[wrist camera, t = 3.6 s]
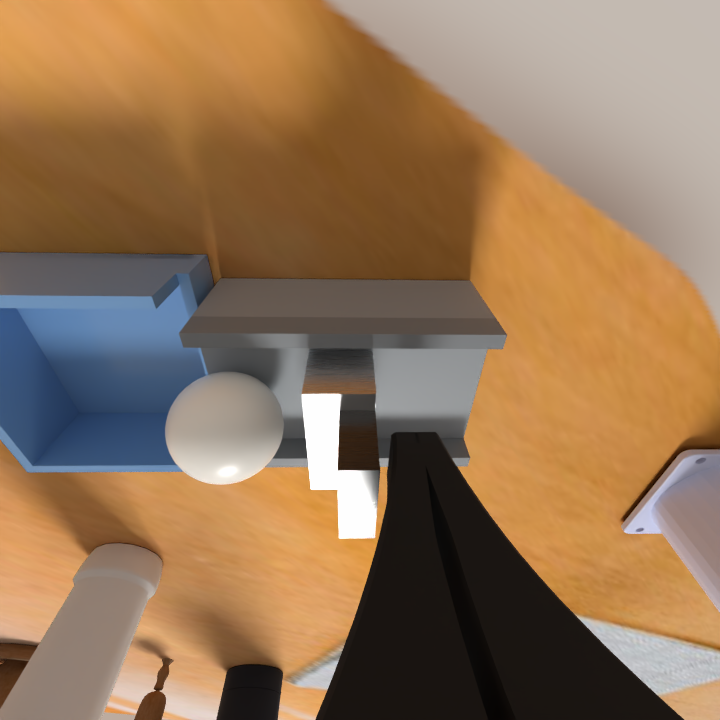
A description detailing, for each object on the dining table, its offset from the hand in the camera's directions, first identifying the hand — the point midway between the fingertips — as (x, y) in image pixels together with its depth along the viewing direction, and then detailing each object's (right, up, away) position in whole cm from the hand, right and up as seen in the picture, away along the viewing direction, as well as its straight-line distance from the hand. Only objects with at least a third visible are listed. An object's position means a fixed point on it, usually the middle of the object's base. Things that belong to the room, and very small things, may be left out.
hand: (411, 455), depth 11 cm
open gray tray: (-3, +3, +5) cm, 7 cm away
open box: (-11, +3, +5) cm, 12 cm away
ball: (-6, +1, +1) cm, 6 cm away
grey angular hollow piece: (-2, +2, +2) cm, 4 cm away
